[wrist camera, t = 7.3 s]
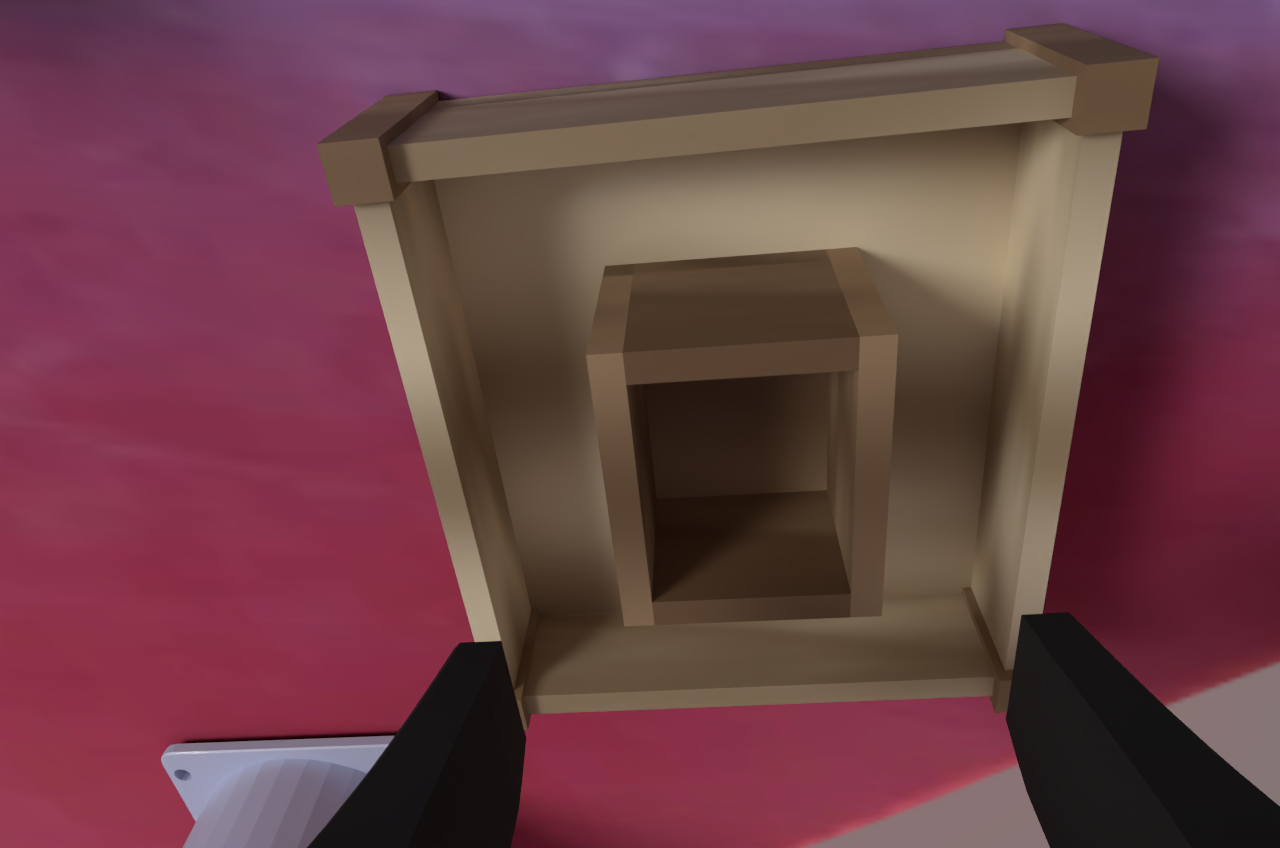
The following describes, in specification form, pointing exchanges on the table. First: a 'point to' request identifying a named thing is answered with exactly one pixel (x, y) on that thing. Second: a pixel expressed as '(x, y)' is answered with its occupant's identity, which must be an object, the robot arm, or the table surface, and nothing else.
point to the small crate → (745, 435)
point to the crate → (735, 226)
